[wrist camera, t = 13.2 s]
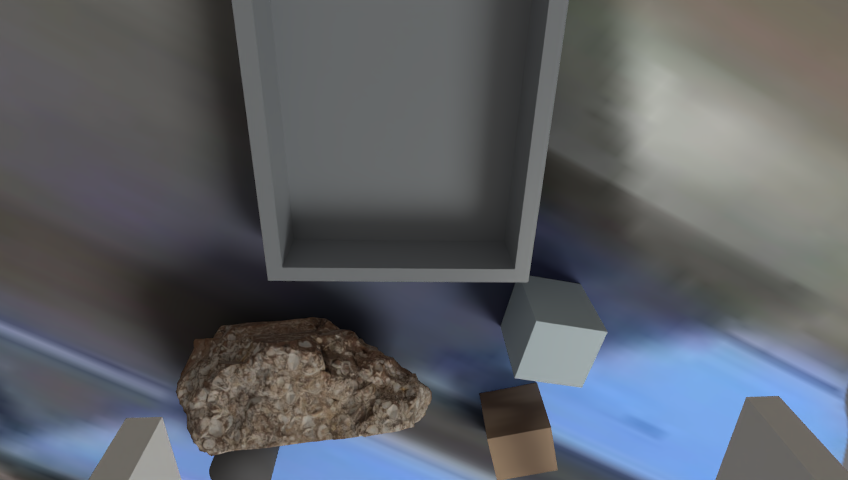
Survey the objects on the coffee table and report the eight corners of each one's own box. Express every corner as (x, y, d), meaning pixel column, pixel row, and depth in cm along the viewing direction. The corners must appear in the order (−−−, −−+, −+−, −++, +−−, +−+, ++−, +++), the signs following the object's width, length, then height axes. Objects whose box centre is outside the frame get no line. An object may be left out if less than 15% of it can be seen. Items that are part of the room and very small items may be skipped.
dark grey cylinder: (229, 455, 47) (214, 495, 44) (219, 415, 45) (204, 454, 42) (284, 454, 48) (274, 493, 44) (277, 414, 45) (267, 452, 42)
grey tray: (282, 247, 38) (268, 280, 34) (230, -218, 26) (198, -252, 22) (515, 249, 38) (528, 282, 34) (572, -202, 26) (602, -232, 22)
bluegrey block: (500, 325, 42) (514, 378, 36) (518, 273, 39) (536, 321, 34) (559, 334, 42) (581, 387, 37) (580, 283, 40) (607, 332, 35)
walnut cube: (488, 432, 47) (497, 480, 43) (479, 392, 45) (487, 439, 40) (543, 422, 47) (557, 469, 42) (536, 381, 45) (551, 427, 40)
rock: (221, 445, 43) (166, 507, 33) (197, 323, 43) (136, 348, 33) (433, 401, 44) (442, 449, 34) (410, 282, 43) (413, 294, 34)
